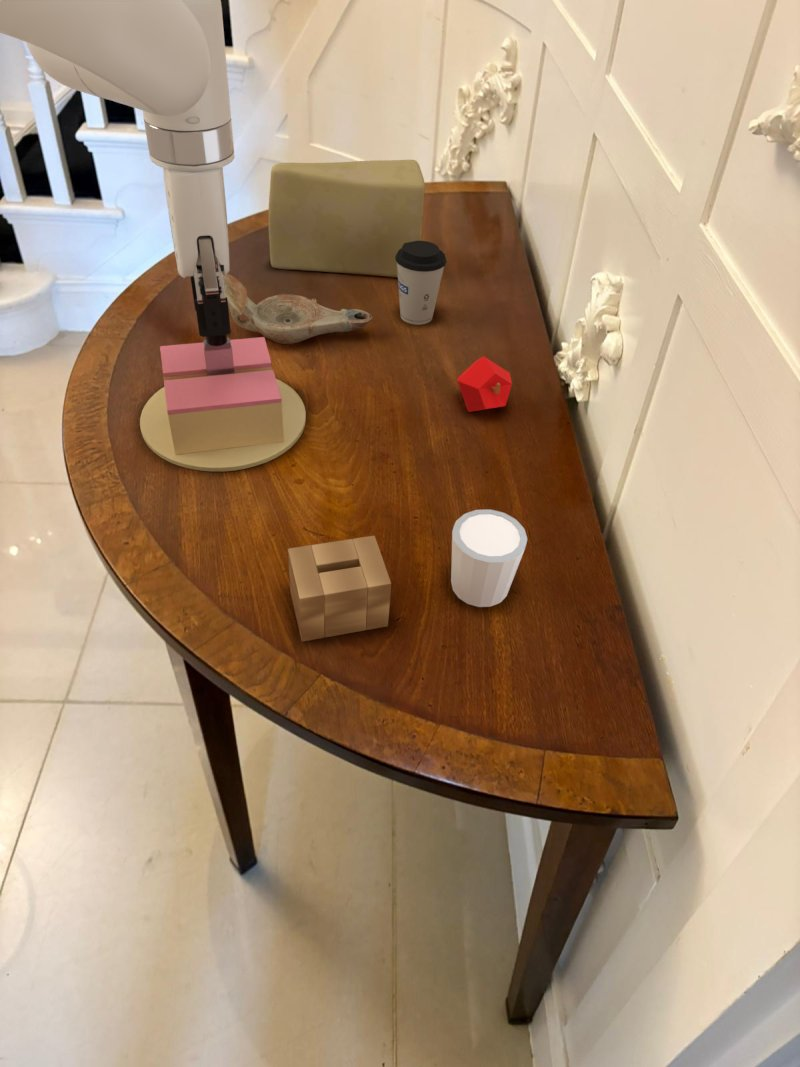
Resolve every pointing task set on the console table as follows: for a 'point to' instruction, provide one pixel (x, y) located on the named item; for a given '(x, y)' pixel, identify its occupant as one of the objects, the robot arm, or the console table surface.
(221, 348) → the knife
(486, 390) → the apple
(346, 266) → the cheese
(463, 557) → the white cylinder
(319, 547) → the knife block
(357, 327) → the oil lamp
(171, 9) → the robot arm
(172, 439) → the cake
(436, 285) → the coffee cup
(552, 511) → the console table surface
